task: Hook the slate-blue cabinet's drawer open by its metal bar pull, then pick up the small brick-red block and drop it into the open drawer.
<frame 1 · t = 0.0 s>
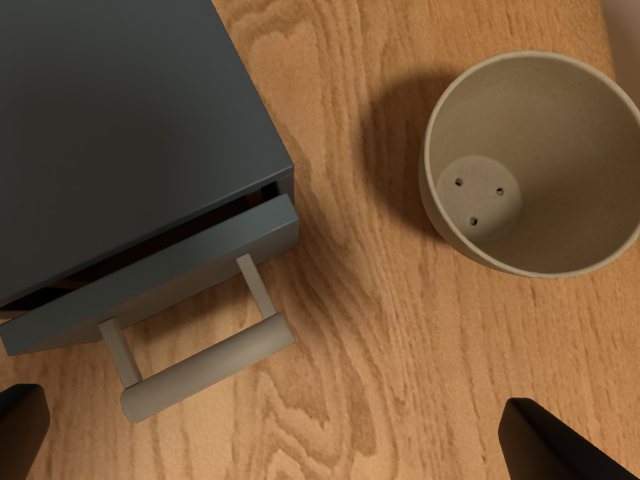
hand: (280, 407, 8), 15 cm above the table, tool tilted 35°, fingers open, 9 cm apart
drawer: (142, 197, 19), point 4 cm above the table, slide at 0.5 cm
bowl: (471, 201, 25), on the table
cabinet: (139, 149, 24), on the table
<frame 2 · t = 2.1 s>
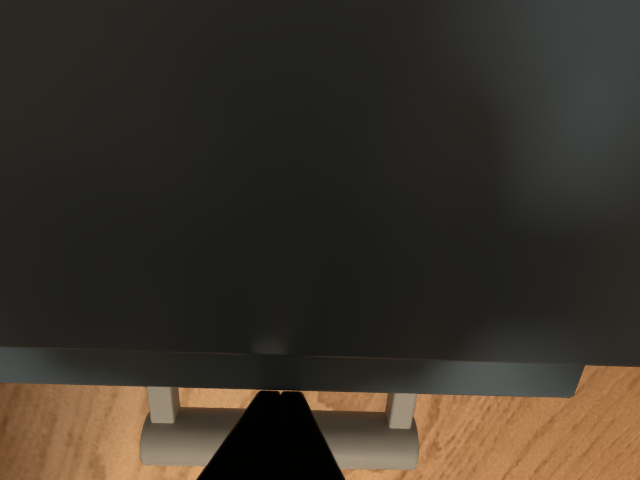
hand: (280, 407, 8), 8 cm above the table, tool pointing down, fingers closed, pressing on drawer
drawer: (295, 115, 9), point 4 cm above the table, slide at 0.3 cm, touching gripper
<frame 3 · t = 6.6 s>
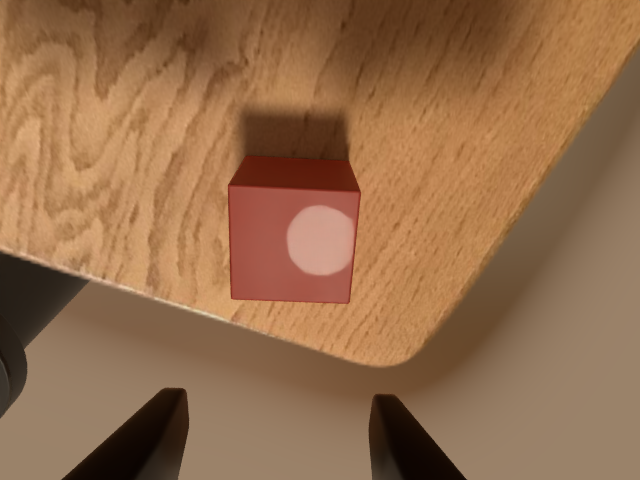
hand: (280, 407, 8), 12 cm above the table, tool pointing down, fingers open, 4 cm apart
block: (295, 206, 19), on the table
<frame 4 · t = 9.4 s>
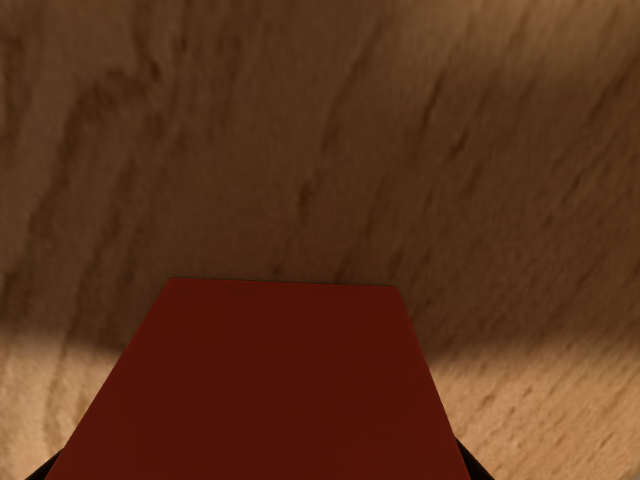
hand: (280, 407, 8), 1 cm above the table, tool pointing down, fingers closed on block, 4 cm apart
block: (282, 371, 9), on the table, touching gripper
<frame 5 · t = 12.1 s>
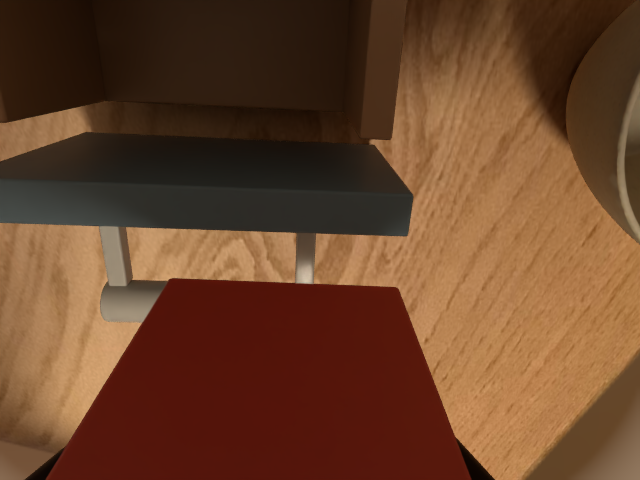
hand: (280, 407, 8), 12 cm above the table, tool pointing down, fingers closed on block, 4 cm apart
drawer: (209, 38, 12), point 4 cm above the table, slide at 6.1 cm
bowl: (623, 92, 18), on the table
block: (282, 371, 9), point 11 cm above the table, touching gripper
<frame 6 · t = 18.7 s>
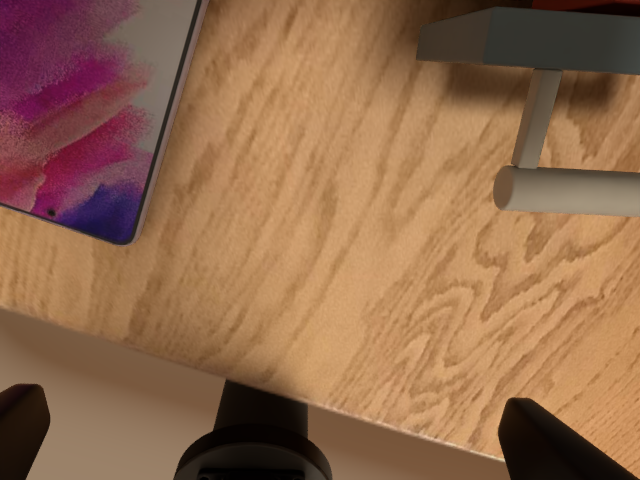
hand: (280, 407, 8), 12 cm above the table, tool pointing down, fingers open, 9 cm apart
smartphone: (96, 50, 17), on the table
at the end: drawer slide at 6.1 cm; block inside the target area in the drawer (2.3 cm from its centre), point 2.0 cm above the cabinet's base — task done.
